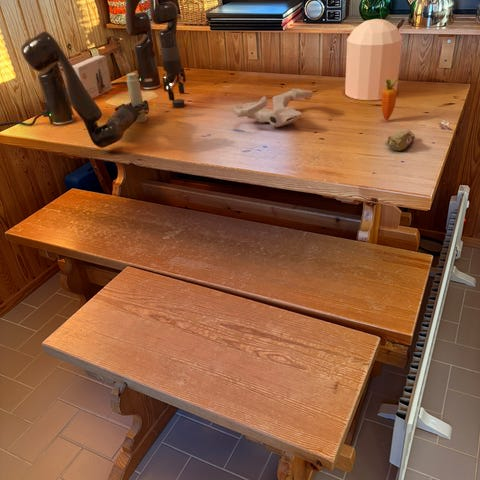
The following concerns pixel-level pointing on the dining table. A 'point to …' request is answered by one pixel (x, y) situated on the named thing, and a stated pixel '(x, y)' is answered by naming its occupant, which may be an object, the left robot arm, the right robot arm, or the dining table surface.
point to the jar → (135, 93)
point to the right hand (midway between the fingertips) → (177, 97)
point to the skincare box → (94, 75)
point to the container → (372, 59)
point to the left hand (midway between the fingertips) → (139, 102)
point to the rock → (400, 140)
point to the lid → (178, 103)
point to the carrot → (388, 99)
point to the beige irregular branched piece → (280, 112)
